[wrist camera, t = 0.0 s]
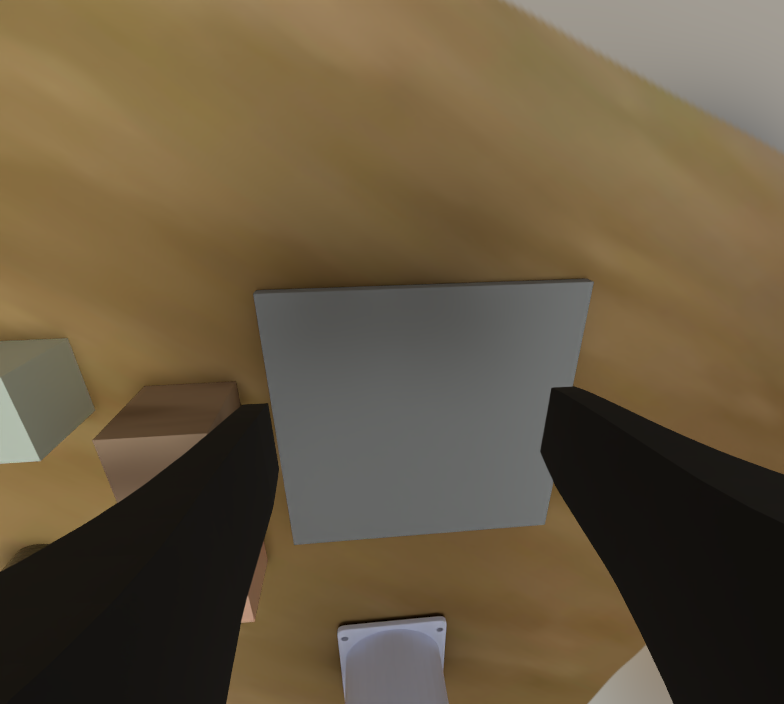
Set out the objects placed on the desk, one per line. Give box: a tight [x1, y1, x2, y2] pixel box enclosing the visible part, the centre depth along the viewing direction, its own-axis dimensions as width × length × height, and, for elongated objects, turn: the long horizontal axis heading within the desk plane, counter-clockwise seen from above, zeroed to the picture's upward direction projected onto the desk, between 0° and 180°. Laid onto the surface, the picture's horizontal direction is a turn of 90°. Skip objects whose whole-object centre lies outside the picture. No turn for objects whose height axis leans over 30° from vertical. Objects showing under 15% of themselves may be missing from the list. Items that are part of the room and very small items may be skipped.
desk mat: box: [253, 279, 594, 545], centre depth 22 cm, size 16×16×1 cm
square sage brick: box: [0, 338, 95, 464], centre depth 18 cm, size 4×4×4 cm
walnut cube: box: [92, 382, 241, 503], centre depth 19 cm, size 4×4×4 cm
